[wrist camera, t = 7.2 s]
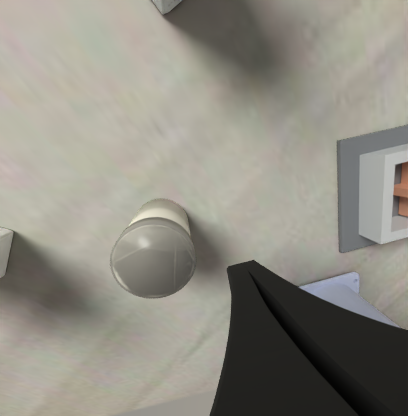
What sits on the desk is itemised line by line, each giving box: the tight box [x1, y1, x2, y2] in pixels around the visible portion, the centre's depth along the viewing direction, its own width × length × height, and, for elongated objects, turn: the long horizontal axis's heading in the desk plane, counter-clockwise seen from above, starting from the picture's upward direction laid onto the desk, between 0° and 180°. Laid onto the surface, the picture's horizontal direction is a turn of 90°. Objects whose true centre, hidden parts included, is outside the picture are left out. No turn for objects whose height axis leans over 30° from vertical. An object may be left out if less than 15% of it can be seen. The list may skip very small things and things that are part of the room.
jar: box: [110, 199, 196, 298], centre depth 16 cm, size 5×5×7 cm
